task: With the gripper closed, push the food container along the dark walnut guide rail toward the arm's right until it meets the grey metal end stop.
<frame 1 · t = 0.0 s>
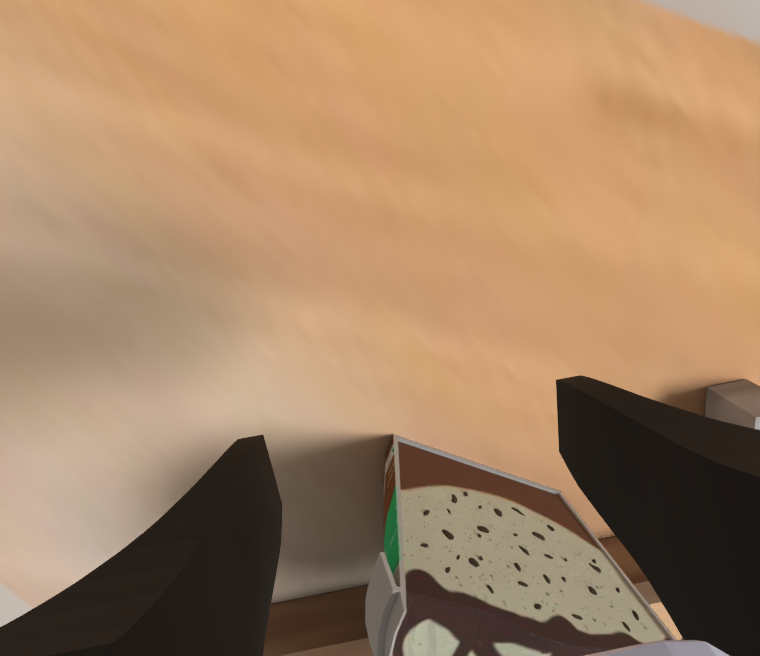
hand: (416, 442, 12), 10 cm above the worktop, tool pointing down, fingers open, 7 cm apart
guide rail: (497, 570, 27), on the worktop
food container: (451, 510, 26), on the worktop
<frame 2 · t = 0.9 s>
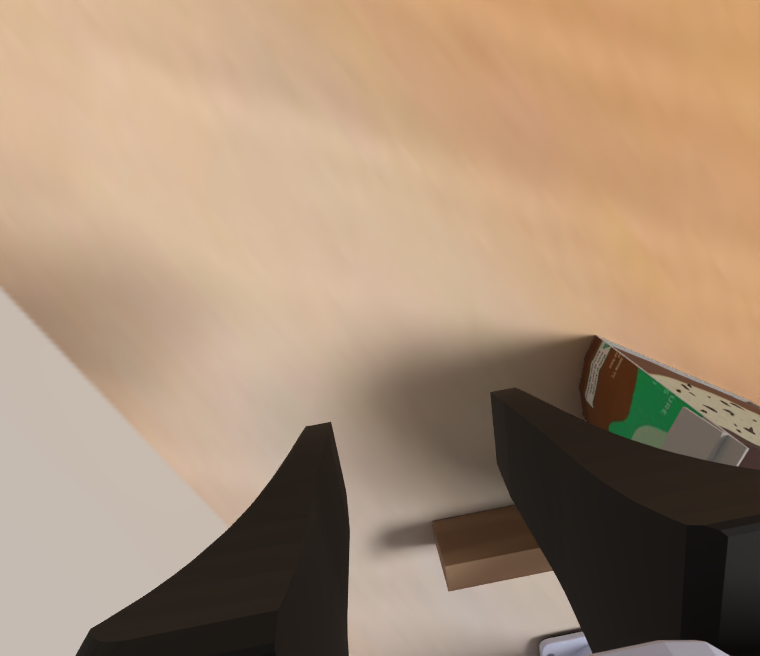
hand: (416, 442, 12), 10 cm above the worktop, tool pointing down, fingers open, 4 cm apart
guide rail: (677, 485, 27), on the worktop
food container: (638, 420, 25), on the worktop
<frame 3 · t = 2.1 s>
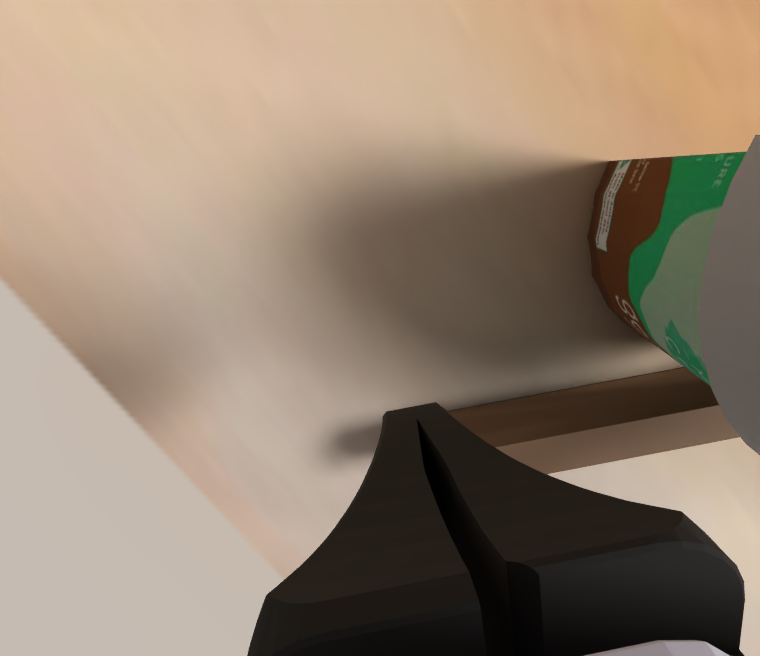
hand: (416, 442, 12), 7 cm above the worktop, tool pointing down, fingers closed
guide rail: (711, 378, 21), on the worktop
food container: (664, 287, 20), on the worktop
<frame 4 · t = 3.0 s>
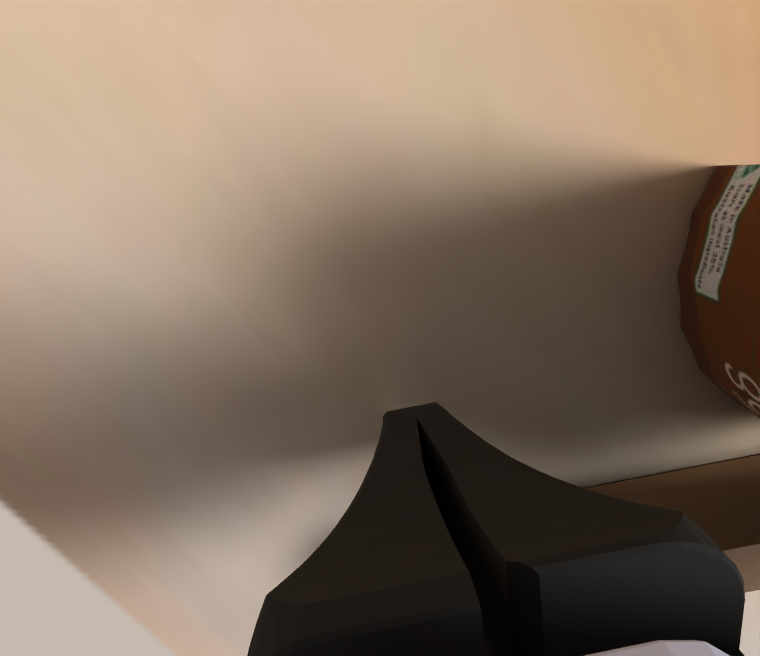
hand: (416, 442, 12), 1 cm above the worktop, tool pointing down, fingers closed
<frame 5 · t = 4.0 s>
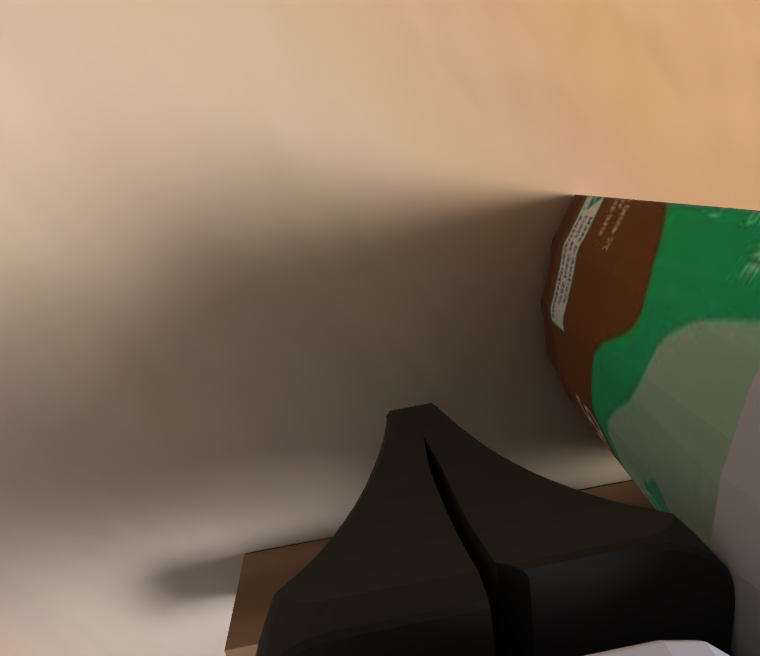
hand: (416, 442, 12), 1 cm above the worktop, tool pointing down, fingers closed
guide rail: (679, 492, 15), on the worktop
food container: (648, 372, 14), on the worktop, touching gripper
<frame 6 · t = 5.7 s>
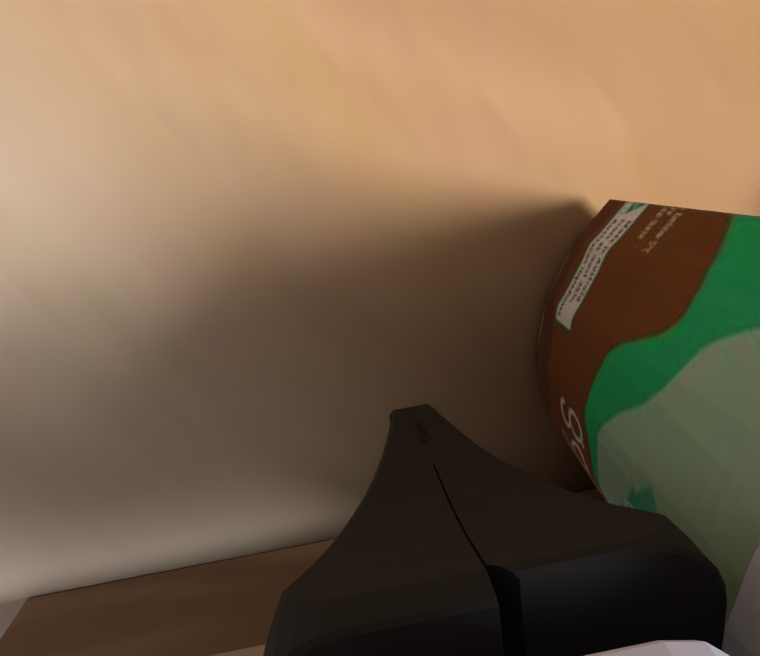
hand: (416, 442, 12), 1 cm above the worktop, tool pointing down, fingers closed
guide rail: (478, 532, 15), on the worktop
food container: (621, 397, 14), on the worktop, touching gripper, guide rail
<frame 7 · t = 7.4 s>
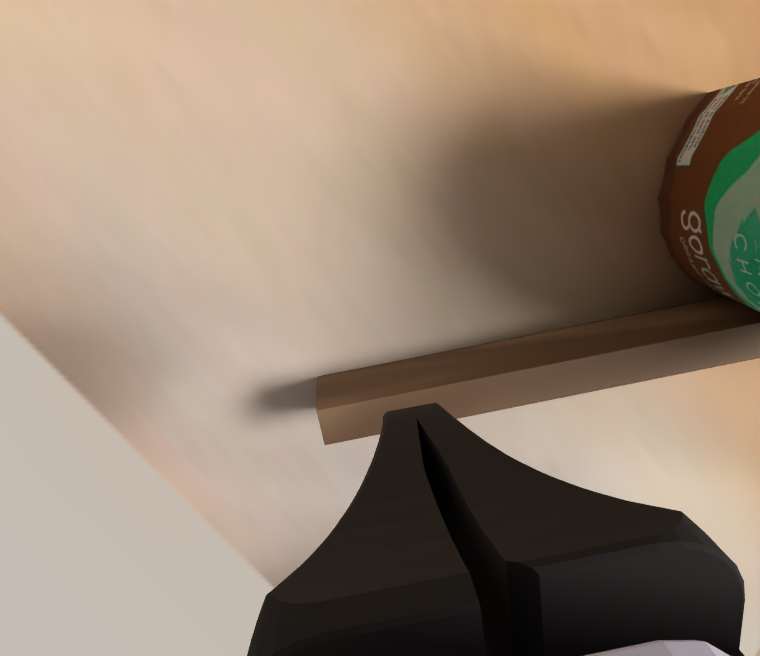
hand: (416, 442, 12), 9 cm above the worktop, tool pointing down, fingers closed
guide rail: (613, 334, 22), on the worktop
food container: (711, 233, 21), on the worktop
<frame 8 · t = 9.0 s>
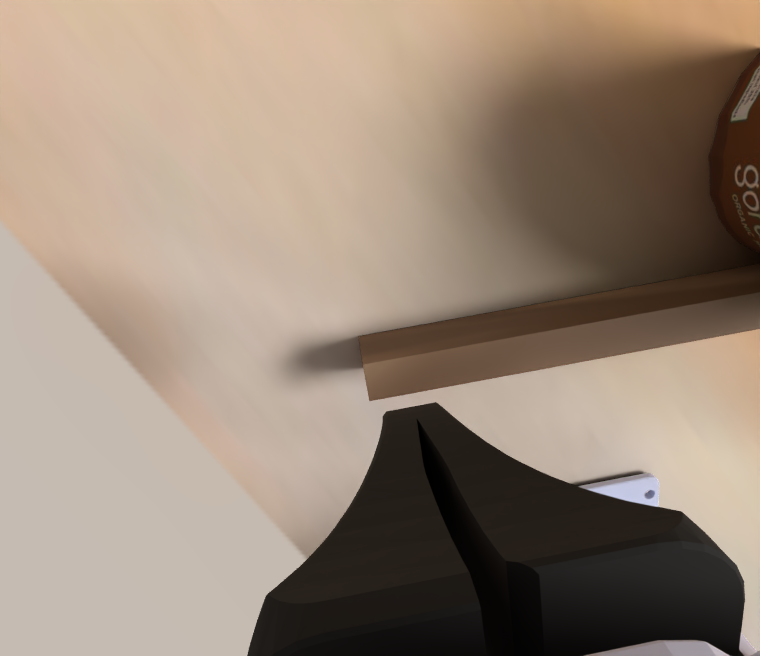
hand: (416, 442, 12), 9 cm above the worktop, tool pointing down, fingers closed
guide rail: (657, 298, 22), on the worktop
food container: (759, 195, 21), on the worktop
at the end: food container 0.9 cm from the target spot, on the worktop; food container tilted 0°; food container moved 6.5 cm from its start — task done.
